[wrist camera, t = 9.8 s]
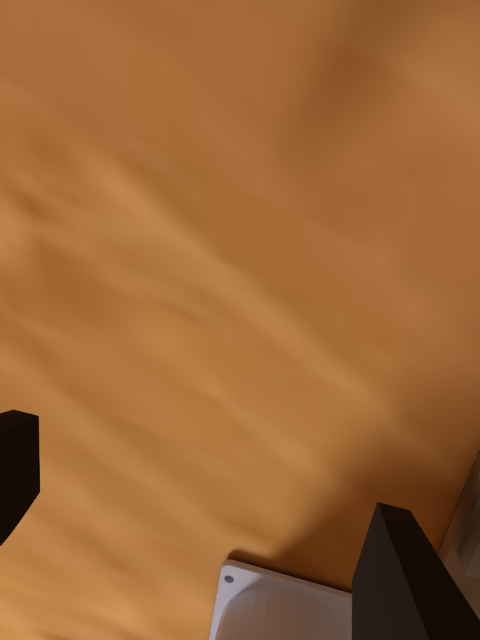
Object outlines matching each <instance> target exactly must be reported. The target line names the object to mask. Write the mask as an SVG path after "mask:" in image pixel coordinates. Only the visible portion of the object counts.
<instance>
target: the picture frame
mask: <svg viewBox="0 0 480 640" xmlns="http://www.w3.org/2000/svg"><path fill="white" fill-rule="evenodd" d="M438 556H439V558H440V559H441V561H442V563H443V564H444V566H445V567H446V569H447V570H448V572H449V574H450V575H451V577H452V578H453V580H454V581H455V583H456V585H457V586H458V588H459V589H460V591H461V592H462V594H463V595H464V597H465V598H466V600H467V601H468V603H469V604H470V606H471V607H472V609H473V610H474V612H475V613H476V615H477V616H478V618H479V619H480V450H479V453H478V455H477V458H476V460H475V463H474V465H473V468H472V470H471V473H470V475H469V478H468V480H467V483H466V485H465V488H464V490H463V493H462V495H461V497H460V500H459V502H458V505H457V507H456V510H455V512H454V515H453V517H452V520H451V522H450V525H449V527H448V530H447V532H446V535H445V537H444V540H443V542H442V545H441V547H440V550H439V552H438Z"/></svg>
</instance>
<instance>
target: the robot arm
mask: <svg viewBox="0 0 480 640" xmlns="http://www.w3.org/2000/svg"><path fill="white" fill-rule="evenodd" d="M39 493H40V461H39V416H37V415H33V414H29V413H25V412H21V411H17V410H10V411H7V412H4V413H0V546H1V545H2V544H3V543H4V541H5V540H6V539H7V538H8V537H9V536H10V534H11V533H12V531H13V530H14V529H15V527H16V526H17V524H18V523H19V522H20V520H21V519H22V518H23V516H24V515H25V513H26V512H27V510H28V509H29V507H30V506H31V504H32V503H33V501H34V500H35V499H36V497H37V496H38V494H39ZM228 575H229V576H228ZM230 576H231V577H230ZM209 640H480V619H479V618H478V616H477V615H476V613H475V612H474V610H473V609H472V607H471V606H470V604H469V603H468V601H467V600H466V598H465V597H464V595H463V594H462V592H461V591H460V589H459V588H458V586H457V585H456V583H455V581H454V580H453V578H452V577H451V575H450V574H449V572H448V570H447V569H446V567H445V566H444V564H443V563H442V561H441V559H440V558H439V556H438V555H437V553H436V551H435V550H434V548H433V547H432V545H431V543H430V542H429V540H428V538H427V537H426V535H425V534H424V532H423V530H422V529H421V527H420V526H419V524H418V522H417V521H416V519H415V518H414V516H413V515H412V513H411V511H410V510H406V509H402V508H399V507H395V506H391V505H387V504H383V503H379V502H377V505H376V508H375V511H374V514H373V517H372V520H371V523H370V526H369V529H368V533H367V536H366V539H365V542H364V545H363V548H362V551H361V554H360V558H359V561H358V564H357V567H356V570H355V573H354V576H353V579H352V594H351V593H348V592H344V591H341V590H337V589H334V588H330V587H327V586H323V585H320V584H316V583H313V582H309V581H306V580H302V579H299V578H295V577H292V576H288V575H285V574H281V573H278V572H274V571H271V570H267V569H264V568H260V567H257V566H253V565H250V564H246V563H243V562H239V561H236V560H231V559H229V560H225V561H224V562H223V565H222V568H221V574H220V579H219V585H218V591H217V596H216V602H215V608H214V613H213V619H212V625H211V630H210V636H209Z"/></svg>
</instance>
